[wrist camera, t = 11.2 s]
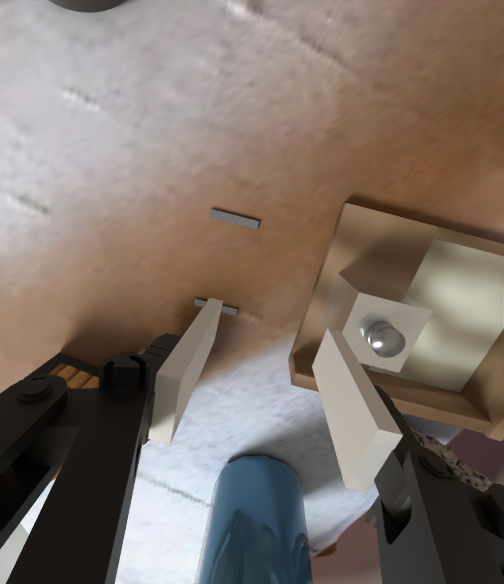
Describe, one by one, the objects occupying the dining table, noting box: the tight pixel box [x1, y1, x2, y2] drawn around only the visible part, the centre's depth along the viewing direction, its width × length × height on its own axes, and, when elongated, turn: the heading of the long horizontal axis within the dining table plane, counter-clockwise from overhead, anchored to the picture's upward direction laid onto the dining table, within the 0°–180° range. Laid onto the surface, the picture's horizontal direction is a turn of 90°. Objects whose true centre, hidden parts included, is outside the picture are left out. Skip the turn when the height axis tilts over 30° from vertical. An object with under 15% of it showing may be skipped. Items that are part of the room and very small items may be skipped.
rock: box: [408, 425, 492, 492], centre depth 26 cm, size 13×9×4 cm
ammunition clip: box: [24, 352, 99, 482], centre depth 26 cm, size 11×2×12 cm, turn 64°
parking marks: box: [194, 209, 259, 316], centre depth 25 cm, size 11×5×1 cm, turn 166°
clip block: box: [319, 274, 433, 373], centre depth 21 cm, size 6×6×8 cm
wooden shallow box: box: [288, 203, 504, 441], centre depth 24 cm, size 18×22×5 cm
